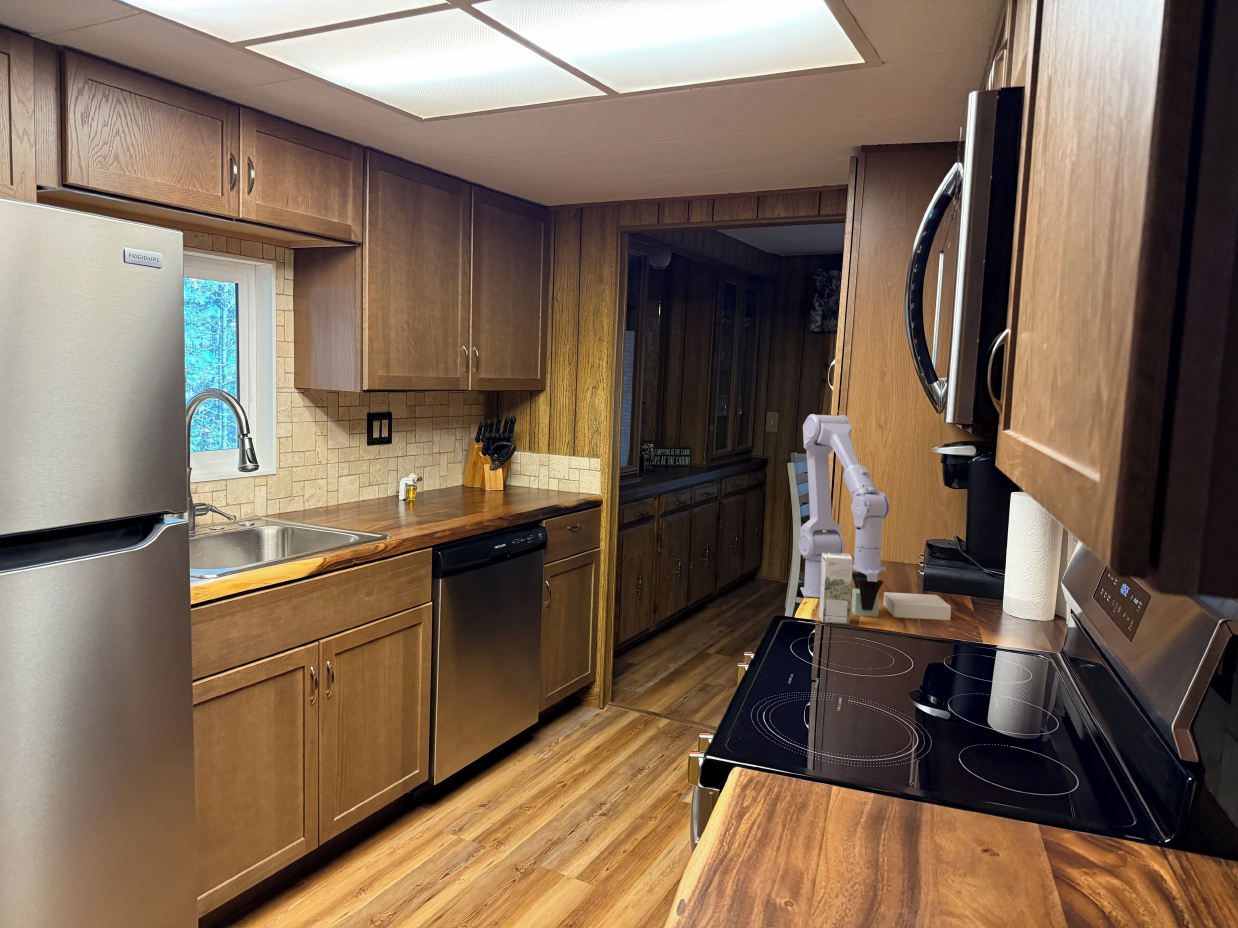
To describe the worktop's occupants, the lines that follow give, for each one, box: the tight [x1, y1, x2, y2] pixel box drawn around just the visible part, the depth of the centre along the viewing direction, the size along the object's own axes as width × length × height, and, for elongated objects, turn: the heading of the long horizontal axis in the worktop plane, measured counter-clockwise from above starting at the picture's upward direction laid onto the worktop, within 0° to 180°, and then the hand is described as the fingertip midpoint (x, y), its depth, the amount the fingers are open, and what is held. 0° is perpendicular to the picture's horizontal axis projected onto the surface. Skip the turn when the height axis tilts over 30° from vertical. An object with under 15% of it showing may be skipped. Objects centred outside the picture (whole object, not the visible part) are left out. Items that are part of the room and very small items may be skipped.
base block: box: [882, 591, 952, 621], centre depth 193 cm, size 12×12×3 cm
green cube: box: [850, 588, 880, 618], centre depth 191 cm, size 5×5×5 cm
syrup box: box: [818, 553, 854, 625], centre depth 182 cm, size 6×6×14 cm
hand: (864, 607), depth 191 cm, fingers closed on green cube, 5 cm apart
